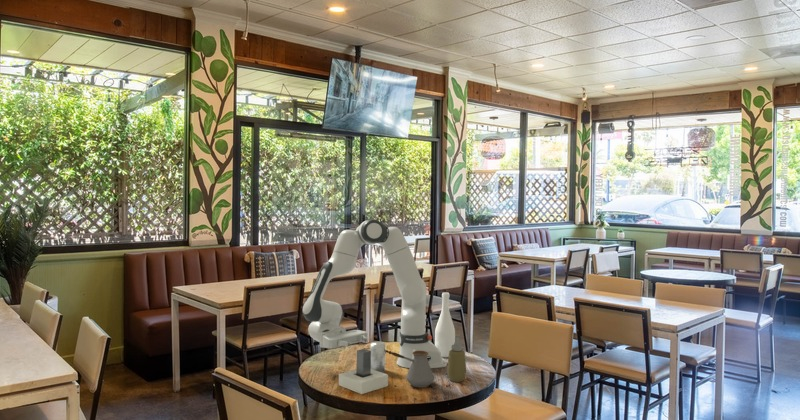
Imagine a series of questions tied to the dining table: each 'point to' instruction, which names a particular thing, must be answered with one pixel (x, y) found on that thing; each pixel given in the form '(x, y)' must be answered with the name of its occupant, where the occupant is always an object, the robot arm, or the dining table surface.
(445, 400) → the dining table surface
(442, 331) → the wine bottle
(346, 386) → the socket block
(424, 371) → the coffee pot
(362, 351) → the square bit
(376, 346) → the round bit
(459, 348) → the squeeze bottle
